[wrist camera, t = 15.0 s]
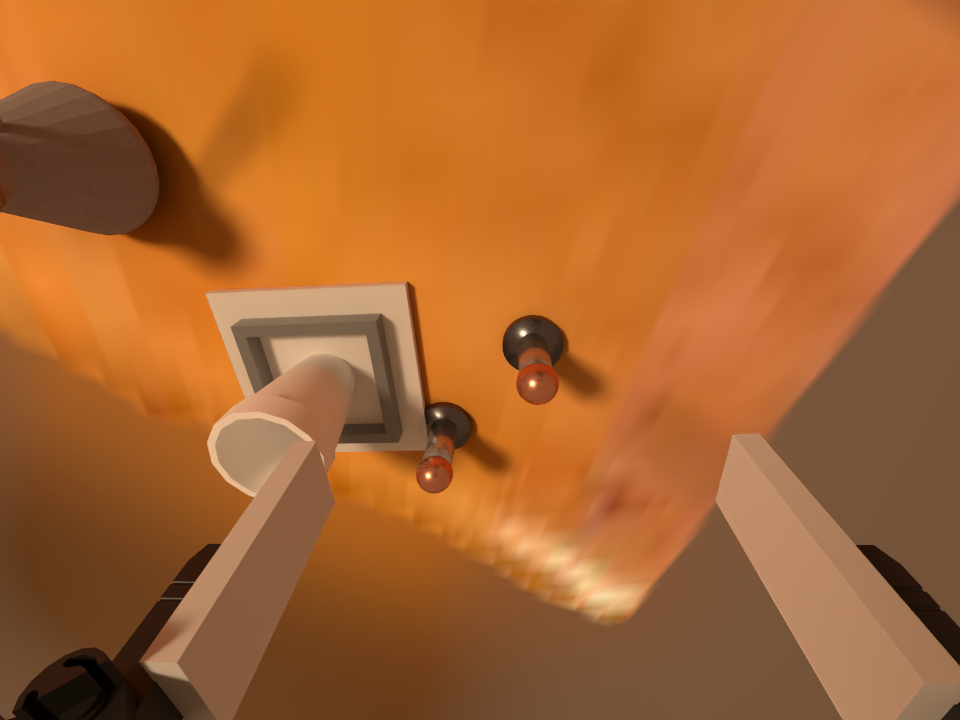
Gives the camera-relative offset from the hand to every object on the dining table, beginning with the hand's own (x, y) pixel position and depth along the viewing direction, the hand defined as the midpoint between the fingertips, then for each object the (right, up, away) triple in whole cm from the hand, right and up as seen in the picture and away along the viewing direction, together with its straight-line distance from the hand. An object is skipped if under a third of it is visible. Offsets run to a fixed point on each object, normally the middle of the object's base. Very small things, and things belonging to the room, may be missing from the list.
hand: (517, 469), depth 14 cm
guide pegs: (-1, +1, +32) cm, 32 cm away
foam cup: (-18, +2, +32) cm, 36 cm away
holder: (-18, +2, +32) cm, 37 cm away
